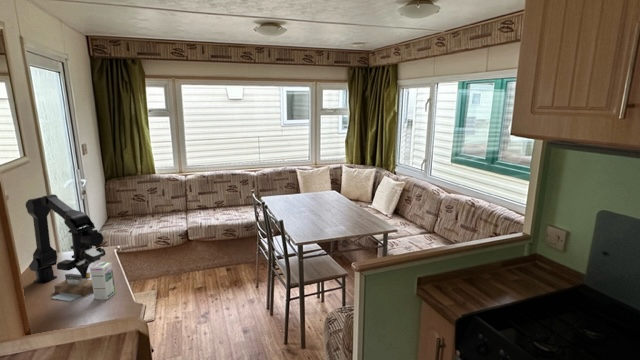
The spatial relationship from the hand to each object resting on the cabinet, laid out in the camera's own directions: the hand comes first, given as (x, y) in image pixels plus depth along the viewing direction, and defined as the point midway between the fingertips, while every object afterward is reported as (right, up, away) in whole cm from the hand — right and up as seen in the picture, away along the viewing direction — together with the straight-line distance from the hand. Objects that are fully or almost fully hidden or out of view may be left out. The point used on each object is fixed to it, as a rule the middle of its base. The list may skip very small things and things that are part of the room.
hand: (84, 277), depth 151 cm
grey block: (-5, -3, +2) cm, 6 cm away
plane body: (-5, -6, +3) cm, 8 cm away
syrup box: (+11, -8, -2) cm, 13 cm away
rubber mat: (-5, -7, -4) cm, 10 cm away
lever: (-4, -3, +3) cm, 6 cm away
